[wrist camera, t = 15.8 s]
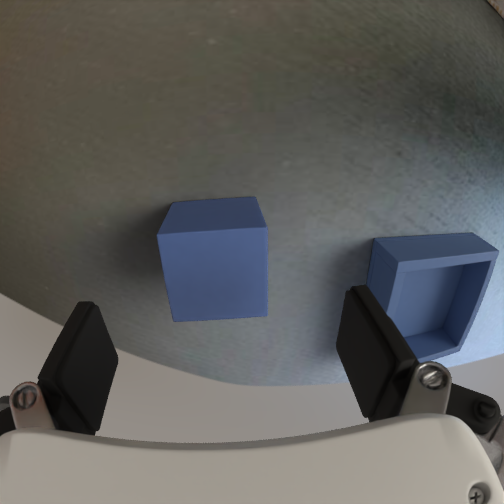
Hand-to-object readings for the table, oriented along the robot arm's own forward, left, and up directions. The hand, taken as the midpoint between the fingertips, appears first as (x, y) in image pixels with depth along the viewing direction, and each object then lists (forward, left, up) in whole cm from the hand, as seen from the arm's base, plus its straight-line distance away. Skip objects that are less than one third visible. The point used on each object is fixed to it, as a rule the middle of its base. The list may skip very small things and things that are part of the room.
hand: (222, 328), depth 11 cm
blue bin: (-6, -16, -9) cm, 19 cm away
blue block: (0, 0, -9) cm, 9 cm away
